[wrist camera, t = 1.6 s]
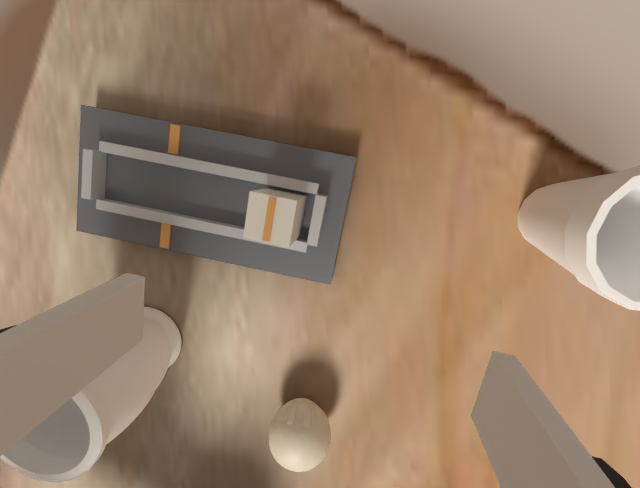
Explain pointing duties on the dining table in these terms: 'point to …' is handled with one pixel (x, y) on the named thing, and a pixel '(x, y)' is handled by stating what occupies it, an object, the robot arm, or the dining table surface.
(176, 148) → the marker
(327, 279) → the slider track
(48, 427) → the jar
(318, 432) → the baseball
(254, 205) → the block
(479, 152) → the dining table surface
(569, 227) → the foam cup
